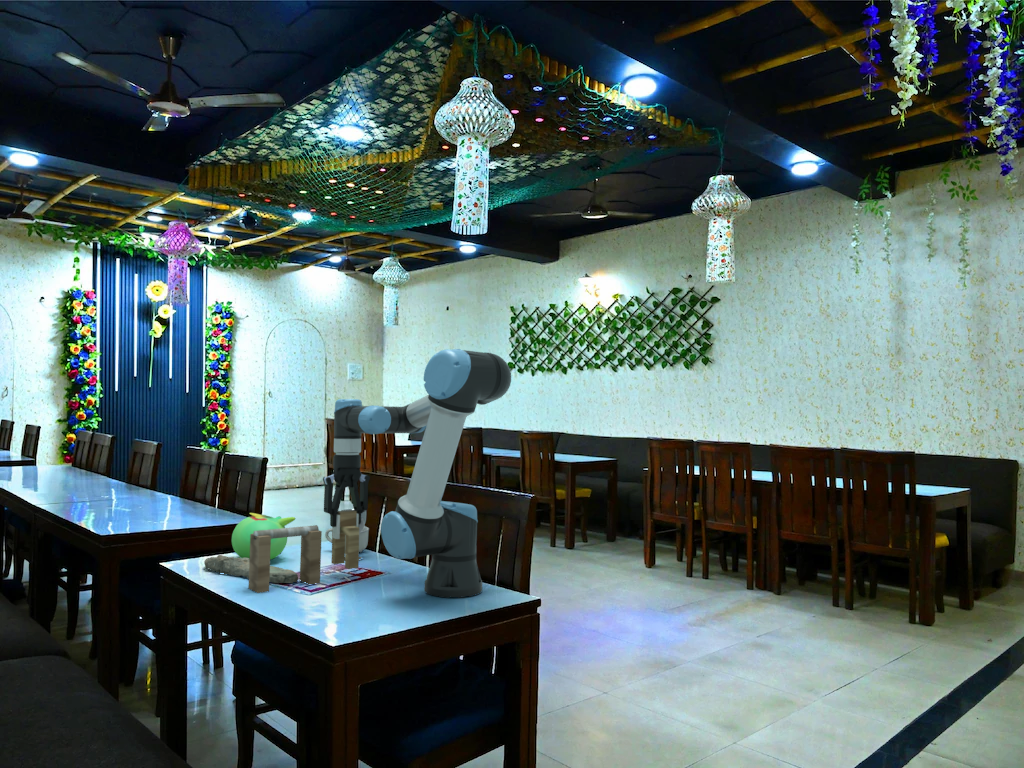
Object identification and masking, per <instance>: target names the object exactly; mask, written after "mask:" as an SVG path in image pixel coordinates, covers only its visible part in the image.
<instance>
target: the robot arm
mask: <svg viewBox="0 0 1024 768" xmlns="http://www.w3.org/2000/svg"><path fill="white" fill-rule="evenodd" d="M511 372H512V371H511V369H510V366H509V365H508V363H507V361H506V360H504V359H503V358H502V357H501V356H499V355H497V354H495V353H492V352H482V351H476V350H475V351H474V350H465V349H460V348H450V349H449V348H448V349H447V348H446V349H442V350H439V351H438V352H436V353H434V354H433V355H432V357H430V359H428V362H427V364H426V366H425V368H424V373H423V381H424V382H425V383H424V384H423V387H424V389H425V392H426V393H427V395H425V396H423V397H421V398H419V399H417V400H414V401H412V402H411V403H408V404H406V405H404V406H388V405H387V406H383V405H382V406H381V405H372V404H371V405H363V402H362V400H361V399H357V398H339V399H337V400H336V401H335V402H334V404H335V405H334V411H333V415H334V416H333V437H334V438H333V453H334V455H333V464H332V468H333V471H332V474H331V475H328V476H324V477H322V481H323V485H324V490H323V493H324V494H323V497H324V498H323V512H324V513H325V514H329V516H330V518H329V520H330V521H329V525H330V527H331V528H332V527H333V538H335V539H340V515H337V514H338V511H340V510H339V509H340V505H341V502H342V498H343V495H344V494H343V493H344V491H345V489H346V488H348V490H349V493H350V497H351V502H352V506H353V507H352V509H354V511H357V517H356V527H358V524H361V513H363V511H365V510H366V511H368V507H369V506H368V505H369V482H370V479H371V476H370V475H368V474H363V473H362V471H361V466H362V462H361V461H362V459H361V458H362V455H361V454H360V453H361V452H362V434H368V435H379V434H410V435H413V434H419V433H422V432H424V434H423V437H422V440H421V442H420V443H421V444H420V447H419V451H418V452H417V453H418V454H417V458H416V461H415V465H414V468H413V470H412V471H413V472H412V475H411V479H410V480H409V481H410V482H409V485H408V488H407V492H406V494H404V495H403V496H400V497H399V499H398V500H397V504H396V508H395V511H393V510H392V511H389V512H388V513H386V514H385V515H384V517H383V518H382V520H381V525H380V528H381V529H380V532H381V533H380V534H381V538H382V542H383V545H384V546H385V547H384V548H385V550H386V551H387V552H388V554H389V555H391V556H392V558H395V559H398V560H404V559H409V560H411V559H414V558H419V557H425V556H430V555H431V561H430V565H429V568H428V572H427V573H426V574H427V575H426V577H425V578H426V579H425V581H424V592H425V593H426V595H427V594H428V595H429V596H434V597H438V596H439V598H449V597H458V598H466V597H465V596H469V597H473V596H472V595H474V596H476V595H475V594H477V595H479V594H481V593H482V592H483V580H482V578H481V574H480V570H479V565H478V563H477V544H478V543H477V541H478V523H479V520H478V510H477V508H476V506H475V505H473V504H470V503H469V504H468V503H463V502H454V501H444V500H442V498H443V496H444V493H445V489H446V486H447V482H448V480H449V475H450V472H451V469H452V466H453V463H454V459H455V455H456V453H457V449H458V447H459V442H460V439H461V435H462V433H463V430H464V426H465V423H466V420H467V417H469V416H471V415H472V414H474V413H475V412H476V408H477V406H478V405H482V406H483V405H488V404H489V403H492V402H495V401H496V400H499V399H501V398H502V397H503V396H504V395H505V394H506V393H507V392H508V391H509V389H510V387H511V382H512V373H511ZM358 481H359V486H358ZM334 482H335V487H334V492H333V484H334ZM358 489H359V490H358ZM333 493H334V494H333ZM481 591H482V592H481ZM480 592H481V593H480ZM478 593H479V594H478Z"/></svg>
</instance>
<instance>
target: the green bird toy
mask: <svg viewBox="0 0 1024 768" xmlns="http://www.w3.org/2000/svg"><path fill="white" fill-rule="evenodd" d="M249 515H251V516H248V517H246V518H244V519H242V520H240V521H239V522H238V523H237V524H236V526H235V528H234V529H233V531H232V534H231V545H232V549H233V550H234V553H235V554H236V555H238V556H239V557H240V558H244V557H245V558H249V559H250V534H253V533H254V531H259V530H270V529H281V528H286V526H287V525H289V524H290V523H292V522H294V521H295V520H296V517H294V516H288V517H283V518H282V516H276V517H273V516H270V515H266V514H259V513H255V512H249ZM287 542H288V537H284V538H274V539H271V549H270V561H271V560H274V559H276V558H277V557H278V556H279V555H280V554H282V552H283V551H284V550H285V548H286V545H287V544H288V543H287Z"/></svg>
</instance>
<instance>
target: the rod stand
mask: <svg viewBox="0 0 1024 768" xmlns="http://www.w3.org/2000/svg"><path fill="white" fill-rule="evenodd" d="M322 532H323V531H322V530H320V529H319V526H318V525H317V524H316V525H315V524H314V525H313V524H312V525H303V526H296V527H295V526H294V527H285V528H281V529H270V530H259V531H254V533H253V534H250V560H249V579H248V590H251V591H253V592H254V591H255V592H254V593H256V592H257V594H261V593H267V591H268V592H270V583H269V577H270V566H271V560H270V549H271V539H274V538H284V537H287V538H293V537H300V538H301V539H300V560H299V563H300V565H299V566H300V567H299V581H300V580H301V581H303V582H306V583H308V584H315V583H320V584H321V567H322V566H321V565H322V564H321V560H322ZM301 581H300V582H301ZM303 582H302V583H303ZM308 584H307V585H308ZM315 585H316V584H315ZM260 592H261V593H260Z"/></svg>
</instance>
